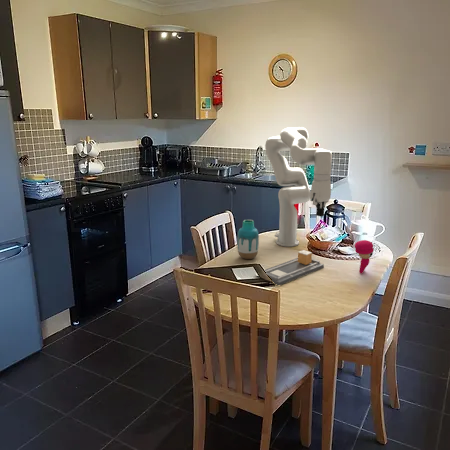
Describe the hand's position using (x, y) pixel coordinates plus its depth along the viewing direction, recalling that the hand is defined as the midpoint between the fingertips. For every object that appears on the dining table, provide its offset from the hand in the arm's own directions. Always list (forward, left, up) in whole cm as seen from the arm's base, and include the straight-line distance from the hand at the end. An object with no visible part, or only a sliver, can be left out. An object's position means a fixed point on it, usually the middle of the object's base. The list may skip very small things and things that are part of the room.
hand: (320, 215), depth 203 cm
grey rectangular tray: (0, -20, -23) cm, 31 cm away
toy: (+22, +4, -23) cm, 32 cm away
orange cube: (0, -10, -21) cm, 23 cm away
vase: (-26, -22, -23) cm, 41 cm away
